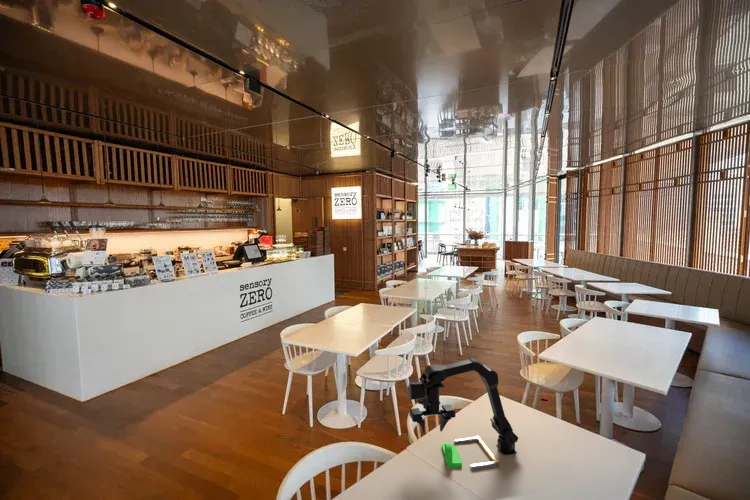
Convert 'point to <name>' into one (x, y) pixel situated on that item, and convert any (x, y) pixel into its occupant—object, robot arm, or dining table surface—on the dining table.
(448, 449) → the mechanical part
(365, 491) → the dining table surface
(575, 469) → the dining table surface
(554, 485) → the dining table surface
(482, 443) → the u-shaped frame
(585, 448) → the dining table surface
